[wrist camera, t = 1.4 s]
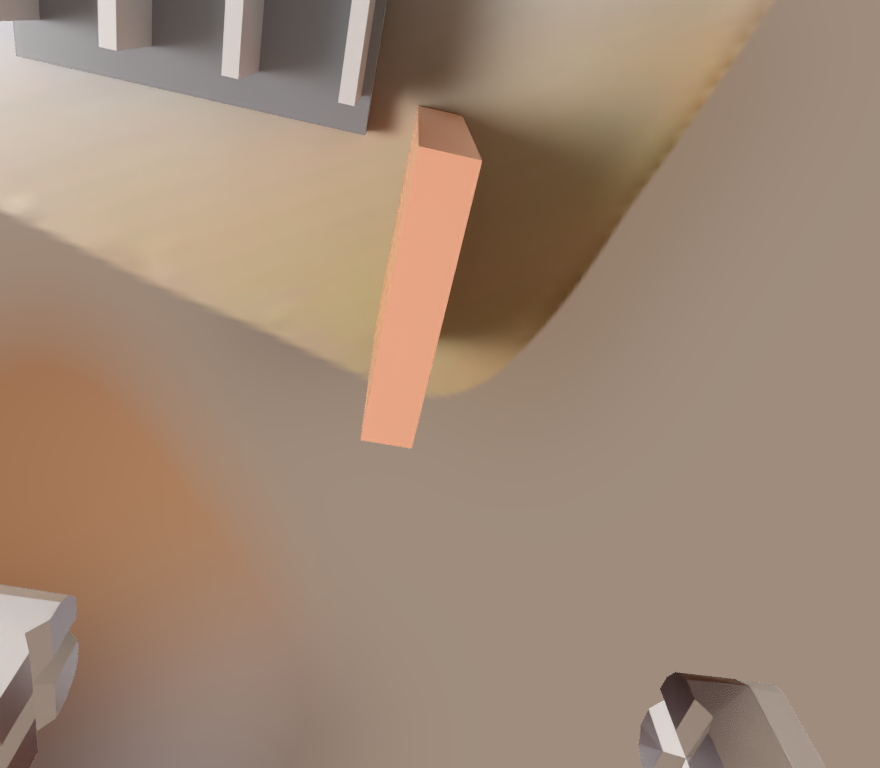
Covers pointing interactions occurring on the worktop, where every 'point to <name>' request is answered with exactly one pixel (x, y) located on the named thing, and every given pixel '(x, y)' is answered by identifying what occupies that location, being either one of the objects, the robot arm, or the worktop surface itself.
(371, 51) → the dish rack
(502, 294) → the worktop surface
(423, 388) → the plate tile
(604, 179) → the worktop surface
